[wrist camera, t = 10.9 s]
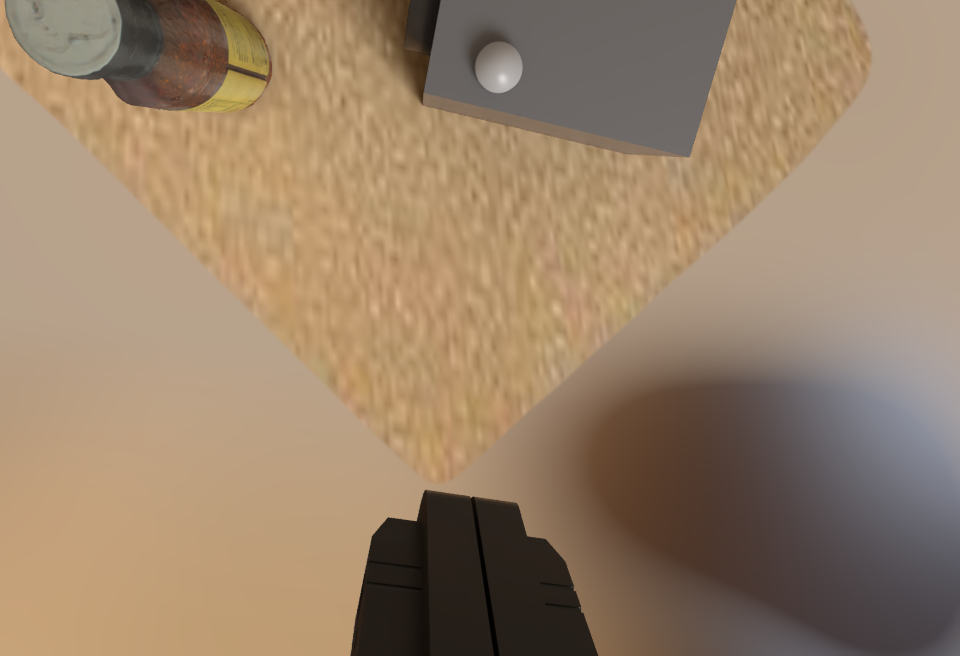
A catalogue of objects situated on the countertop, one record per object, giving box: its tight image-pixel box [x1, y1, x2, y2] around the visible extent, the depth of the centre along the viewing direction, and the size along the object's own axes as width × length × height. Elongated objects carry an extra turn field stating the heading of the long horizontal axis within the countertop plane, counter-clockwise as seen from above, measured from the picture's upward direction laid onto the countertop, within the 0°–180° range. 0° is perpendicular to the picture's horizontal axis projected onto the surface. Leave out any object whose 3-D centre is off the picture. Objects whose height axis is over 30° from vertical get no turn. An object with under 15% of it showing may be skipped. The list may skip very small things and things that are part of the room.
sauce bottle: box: [5, 0, 272, 113], centre depth 32 cm, size 7×6×20 cm
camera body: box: [404, 0, 736, 157], centre depth 37 cm, size 10×17×12 cm, turn 77°
